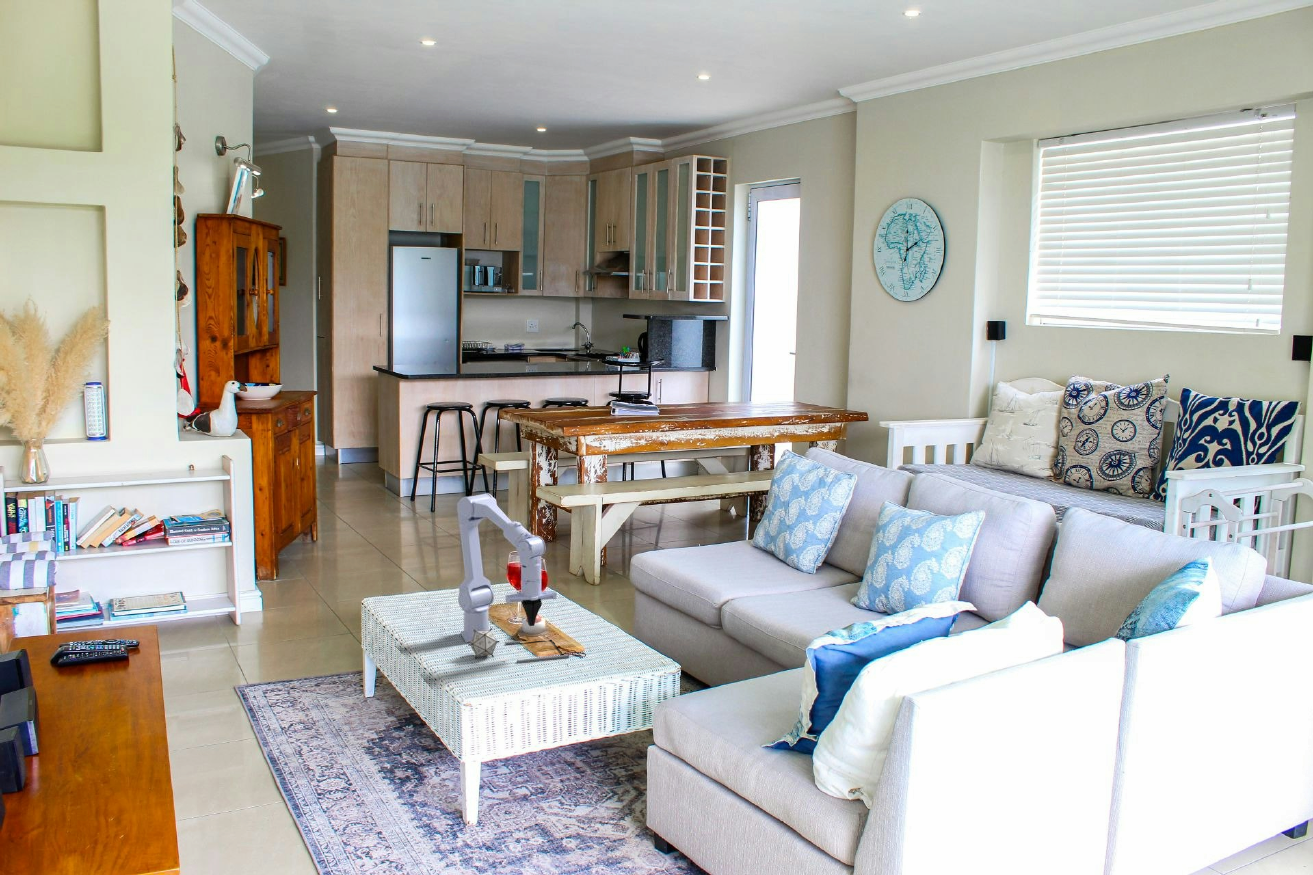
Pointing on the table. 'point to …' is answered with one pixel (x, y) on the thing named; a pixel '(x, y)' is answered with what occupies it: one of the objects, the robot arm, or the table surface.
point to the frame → (536, 658)
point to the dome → (535, 629)
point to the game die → (483, 643)
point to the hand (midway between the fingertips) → (531, 624)
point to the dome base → (533, 634)
